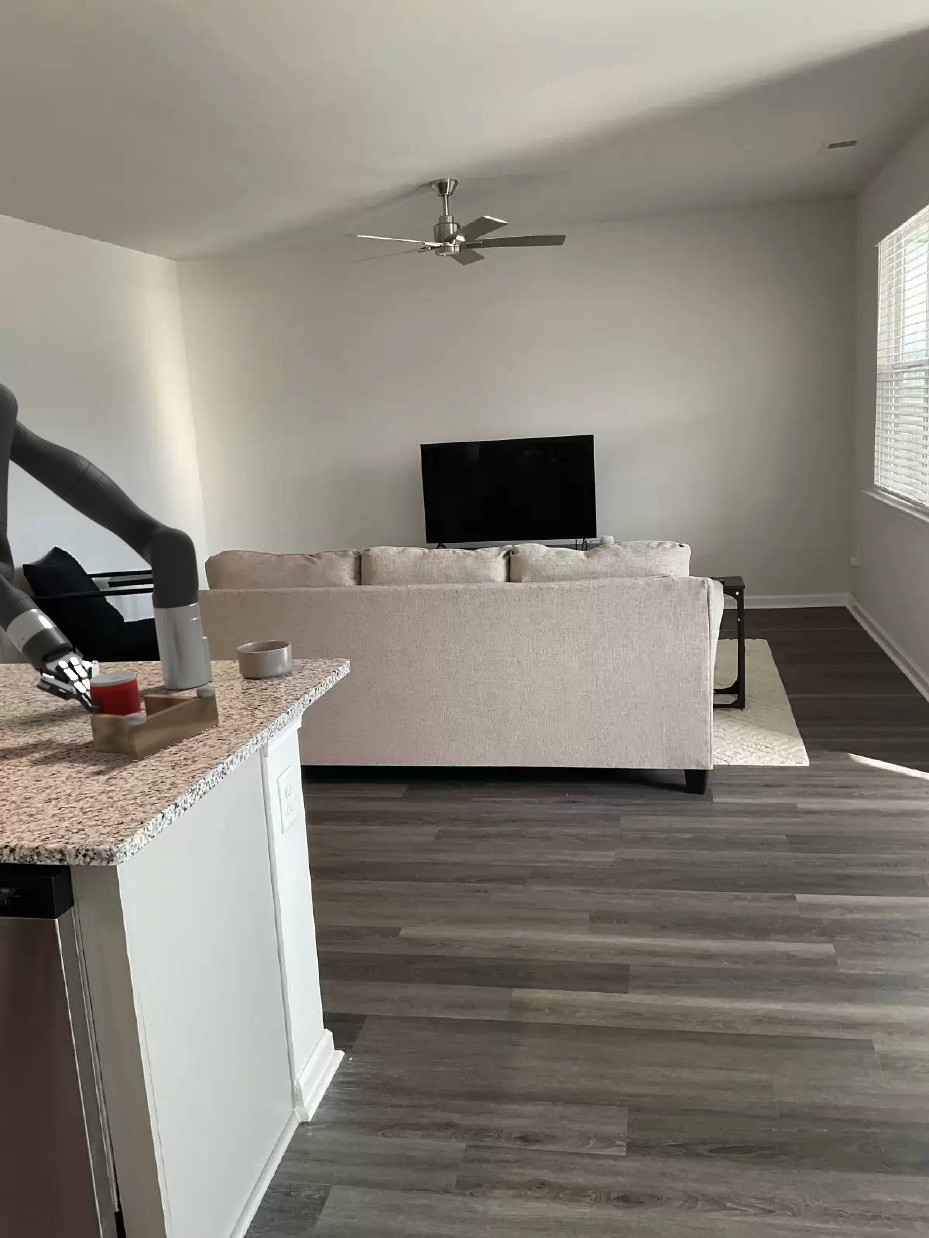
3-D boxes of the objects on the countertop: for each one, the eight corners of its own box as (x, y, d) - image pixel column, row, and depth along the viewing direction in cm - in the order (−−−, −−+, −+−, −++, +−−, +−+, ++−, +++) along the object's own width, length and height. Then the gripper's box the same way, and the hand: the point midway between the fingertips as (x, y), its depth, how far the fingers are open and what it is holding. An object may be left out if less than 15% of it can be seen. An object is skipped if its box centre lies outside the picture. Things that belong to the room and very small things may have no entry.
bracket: (80, 756, 164) (74, 714, 163) (166, 721, 182) (160, 683, 181) (141, 762, 158) (135, 718, 157) (223, 725, 176) (218, 686, 175)
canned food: (153, 731, 176) (144, 671, 174) (126, 745, 168) (117, 682, 166) (116, 730, 178) (107, 671, 176) (88, 744, 171) (78, 683, 169)
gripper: (16, 633, 170) (77, 707, 167) (77, 618, 182) (135, 687, 178) (0, 662, 173) (59, 734, 170) (60, 646, 185) (117, 713, 182)
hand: (98, 710), depth 174 cm, fingers closed
